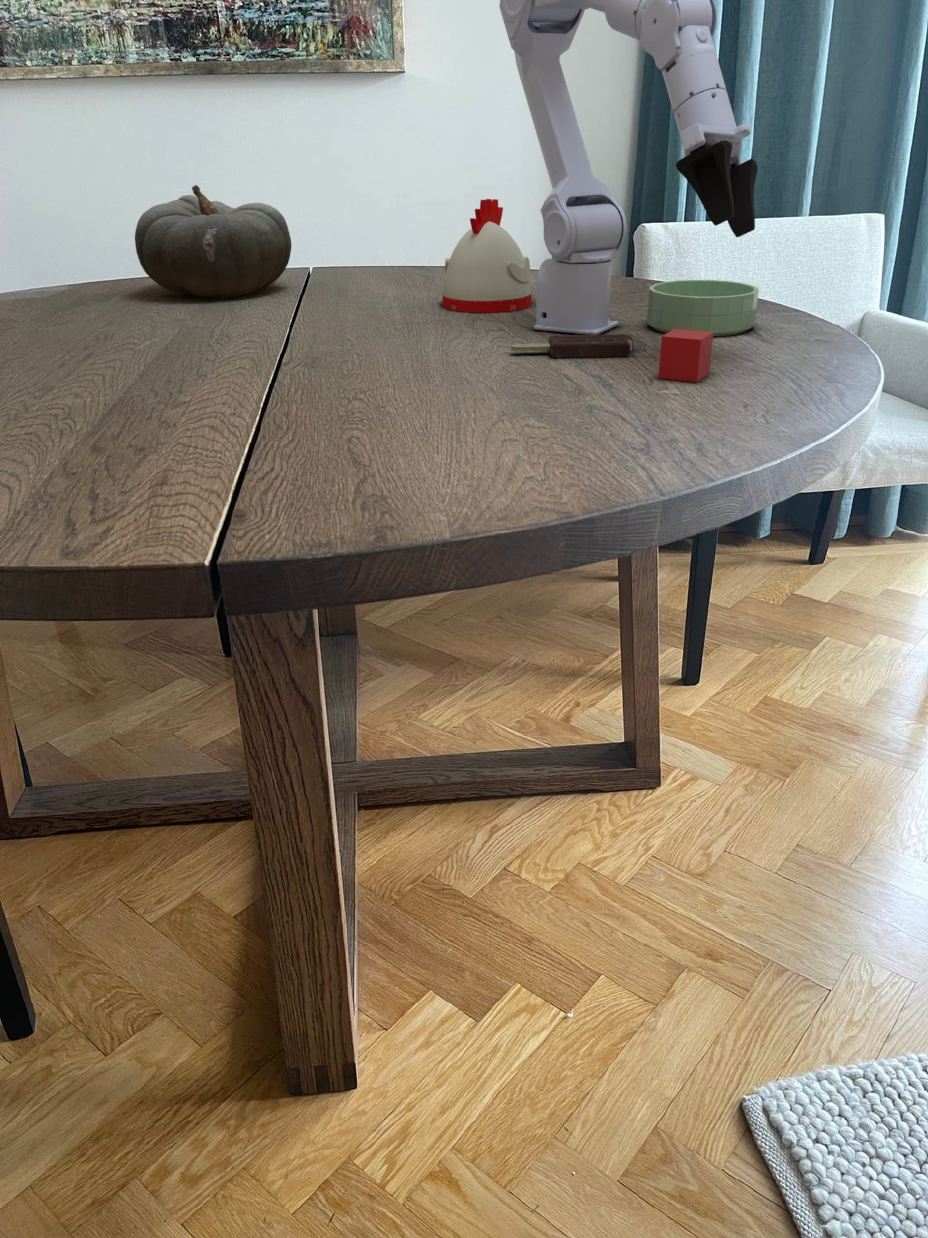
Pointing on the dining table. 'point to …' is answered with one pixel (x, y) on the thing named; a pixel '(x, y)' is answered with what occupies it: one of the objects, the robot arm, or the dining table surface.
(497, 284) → the kitchen timer
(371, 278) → the dining table surface
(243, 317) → the dining table surface
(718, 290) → the bowl
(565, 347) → the ice cream bar
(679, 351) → the red cube
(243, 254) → the gourd
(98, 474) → the dining table surface
